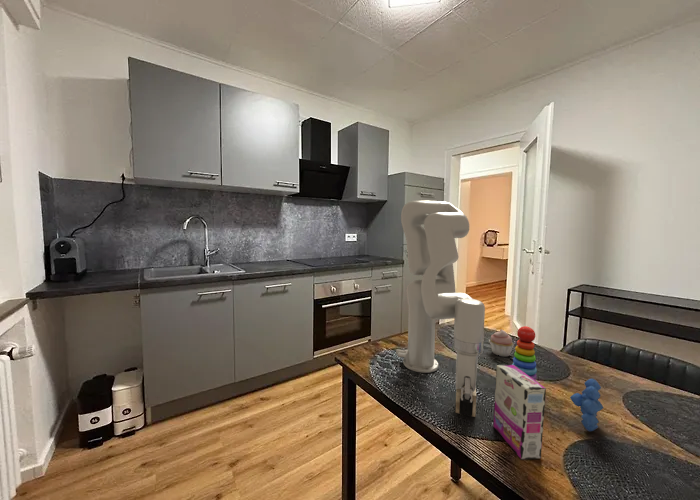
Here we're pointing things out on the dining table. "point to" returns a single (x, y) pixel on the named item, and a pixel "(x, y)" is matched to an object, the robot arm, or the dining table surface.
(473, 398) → the beech block
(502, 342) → the cupcake
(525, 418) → the candy bar box
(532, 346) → the stacking toy
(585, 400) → the grapes
